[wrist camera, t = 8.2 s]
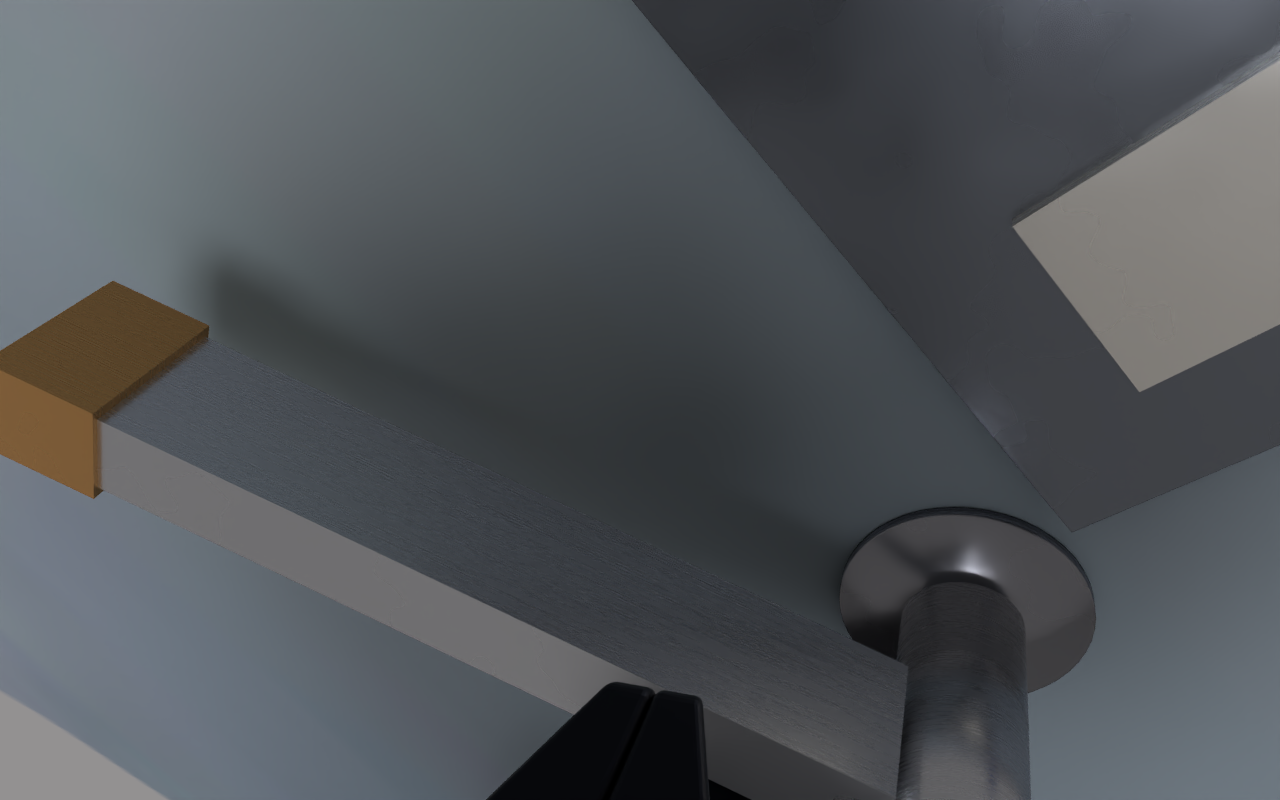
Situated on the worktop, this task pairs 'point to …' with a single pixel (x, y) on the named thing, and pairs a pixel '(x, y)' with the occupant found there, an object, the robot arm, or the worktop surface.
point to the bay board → (1040, 208)
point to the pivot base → (972, 582)
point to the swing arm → (512, 566)
